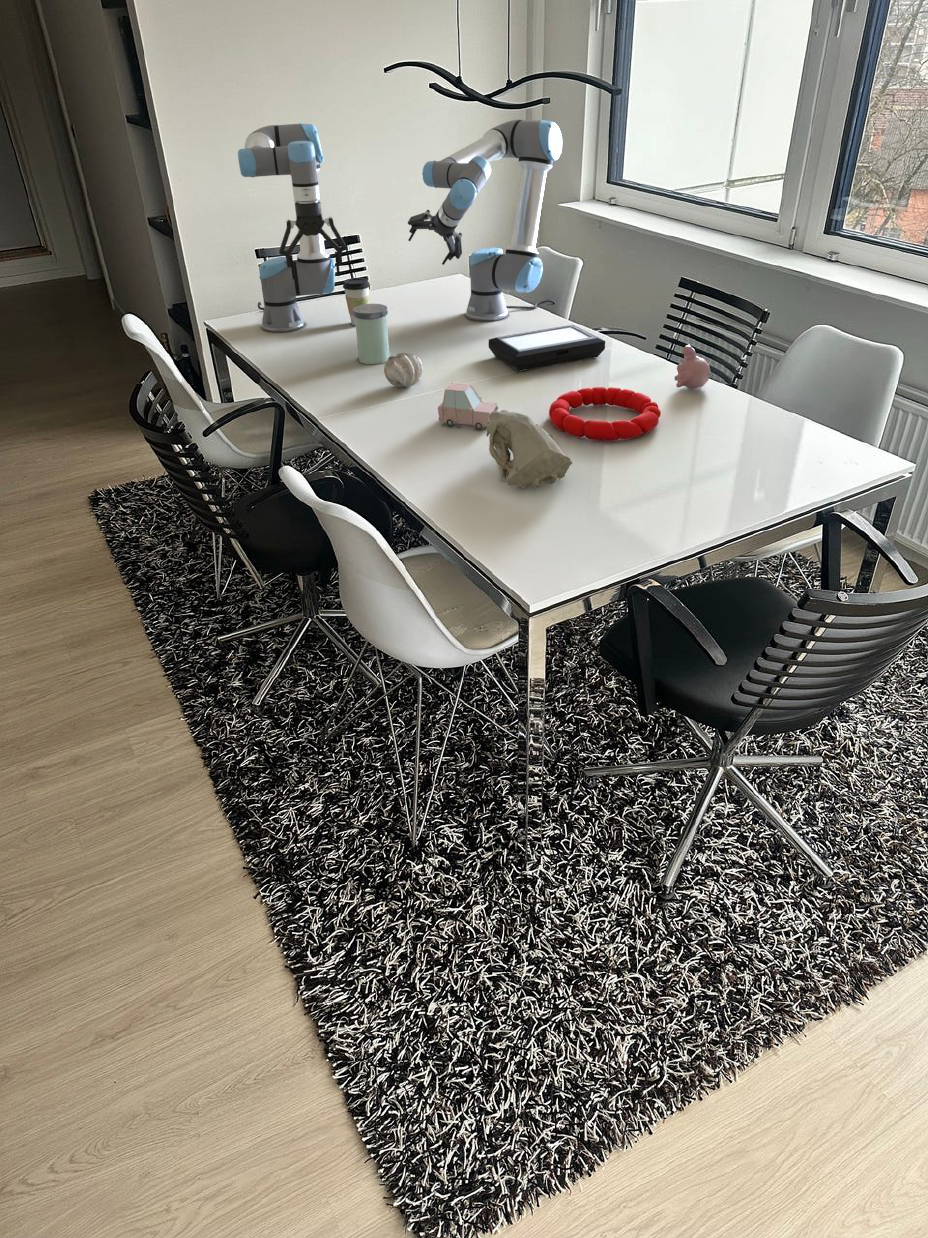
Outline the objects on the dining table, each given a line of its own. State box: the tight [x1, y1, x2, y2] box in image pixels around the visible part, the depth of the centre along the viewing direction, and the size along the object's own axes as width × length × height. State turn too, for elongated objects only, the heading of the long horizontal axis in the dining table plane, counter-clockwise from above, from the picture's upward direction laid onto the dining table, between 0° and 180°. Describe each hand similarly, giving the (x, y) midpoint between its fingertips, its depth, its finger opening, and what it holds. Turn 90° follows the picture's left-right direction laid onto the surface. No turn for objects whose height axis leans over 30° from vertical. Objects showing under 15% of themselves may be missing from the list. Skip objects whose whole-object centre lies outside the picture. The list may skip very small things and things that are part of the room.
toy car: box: [437, 382, 499, 431], centre depth 243 cm, size 9×15×10 cm, turn 70°
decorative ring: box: [548, 386, 661, 442], centre depth 242 cm, size 7×30×30 cm
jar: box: [355, 315, 390, 365], centre depth 289 cm, size 10×10×16 cm
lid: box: [353, 303, 389, 319], centre depth 285 cm, size 11×11×2 cm
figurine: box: [674, 344, 711, 390], centre depth 259 cm, size 9×11×12 cm
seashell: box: [383, 352, 424, 388], centre depth 268 cm, size 10×15×10 cm
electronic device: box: [488, 324, 606, 372], centre depth 288 cm, size 32×6×20 cm
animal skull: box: [485, 409, 573, 489], centre depth 216 cm, size 17×25×20 cm
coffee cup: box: [342, 277, 371, 326], centre depth 323 cm, size 10×10×15 cm
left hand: (316, 276), depth 273 cm, fingers open, 13 cm apart
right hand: (427, 249), depth 304 cm, fingers open, 13 cm apart
